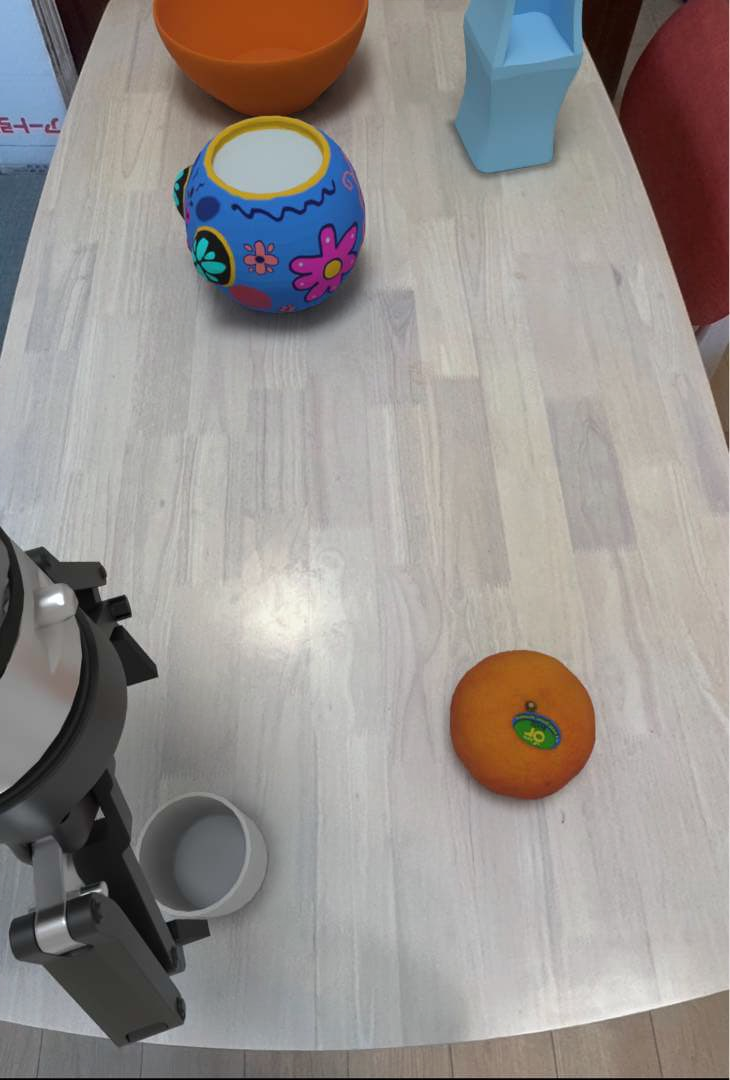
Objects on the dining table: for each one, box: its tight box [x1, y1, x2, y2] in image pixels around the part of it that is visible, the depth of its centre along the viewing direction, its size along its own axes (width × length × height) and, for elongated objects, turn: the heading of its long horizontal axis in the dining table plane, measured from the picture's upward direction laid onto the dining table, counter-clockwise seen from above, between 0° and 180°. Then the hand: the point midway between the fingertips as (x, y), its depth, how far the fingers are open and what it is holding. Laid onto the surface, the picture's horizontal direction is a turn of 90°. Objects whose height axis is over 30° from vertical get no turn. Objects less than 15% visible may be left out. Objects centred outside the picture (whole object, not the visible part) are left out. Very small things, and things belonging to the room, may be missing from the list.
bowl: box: [152, 0, 369, 117], centre depth 92 cm, size 25×25×10 cm
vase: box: [453, 0, 584, 174], centre depth 79 cm, size 10×10×25 cm
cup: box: [130, 790, 268, 918], centre depth 51 cm, size 7×10×9 cm
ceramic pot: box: [172, 116, 367, 314], centre depth 74 cm, size 18×18×15 cm
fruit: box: [449, 649, 597, 801], centre depth 55 cm, size 11×10×8 cm
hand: (156, 798), depth 40 cm, fingers open, 13 cm apart
